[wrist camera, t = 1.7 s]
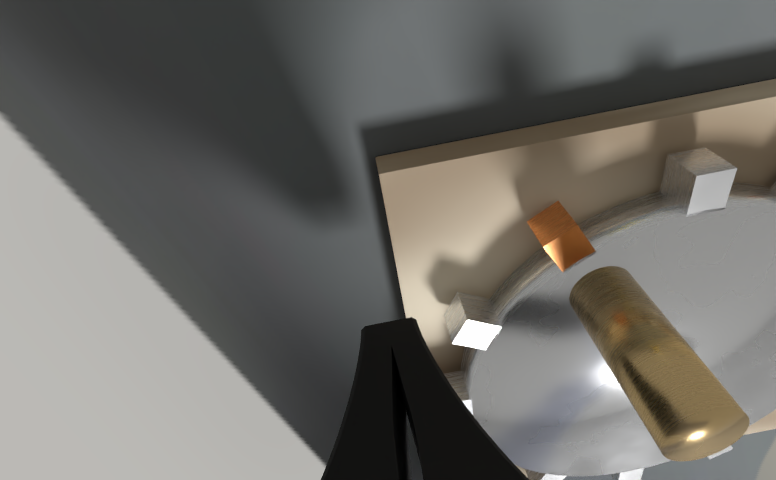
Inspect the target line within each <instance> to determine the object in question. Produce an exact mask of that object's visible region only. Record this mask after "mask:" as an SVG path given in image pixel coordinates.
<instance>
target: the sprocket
mask: <svg viewBox="0 0 776 480" xmlns="http://www.w3.org/2000/svg"><path fill="white" fill-rule="evenodd" d="M736 171H737V168H736V167H735V166H733V165H732V164H730V163H729V162H727V161H726V160H724V159H723V158H721V157H719V156H718V155H716V154H715V153H713V152H712V151H710V150H709V149H707V148H705V147H703V148H698V149H693V150H688V151H683V152H678V153H673V154H668V155H667V159H666V164H665V169H664V173H663V178H662V183H661V188H660V192H656V193H652V194H648V195H645V196H642V197H639V198H636V199H634V200H631V201H628V202H625V203H622V204H620V205H617V206H615V207H612V208H610V209H608V210H606V211H604V212H602V213H600V214H597V215H595V216H593V217H591V218H589V219H587V220H585V221H583V222H582V223H580V224H578V225H577V224H576V222H575V221H574V220H573V218H572V217H571V216H570V215H569V213H568V212H567V211H566V210H565V208H564V207H563V206H562V205H561V203H560V202H559V201H557V202H555V203H554V204H552V205H551V206H549V207H548V208H546V209H545V210H543V211H542V212H540V213H539V214H537V215H536V216H534V217H533V218H531V219H530V220H528V221H527V223H528V225H529V226H530V228H531V229H532V231H533V232H534V234H535V236H536V237H537V239H538V240H539V242H540V243H541V245H542V247H543V248H541V249H540V250H538V251H537V252H536V253H534V254H533V255H532V256H531V257H530V258H529V259H527V260H526V261H525V262H524V263H523V264H522V265H521V266H519V267H518V268H517V269H516V270H515V271H514V272H513V273H512V274H511V275H510V276H509V277H508V278H507V279H506V280H505V281H504V282H503V284H502V285H501V286H500V287H499V288H498V289H497V290H496V291H495V292H494V294H493V295H492V297H491V298H490V299H488V298H484V297H479V296H475V295H470V294H466V293H461V292H457V293H456V295H455V297H454V298H453V300H452V302H451V303H450V305H449V307H448V308H447V310H446V312H445V313H444V318H445V321H446V324H447V328H448V331H449V335H450V338H451V341H452V344H456V345H462V346H464V351H463V356H462V362H461V371H457V372H451V373H446V374H444V375H445V377H446V378H447V380H448V381H449V383H450V384H451V386H452V387H453V389H454V390H455V392H456V393H457V395H458V396H459V397H460V399H461V400H462V402H463V403H464V404H465V406H466V407H467V408H468V410H469V411H470V412H471V414H472V415H473V416H474V418H475V419H476V420H477V421H478V423H479V424H480V425H481V426H482V428H483V429H484V430H485V431H486V432H487V434H488V435H489V436H490V437H491V438H492V440H493V441H494V442H495V443H496V444H497V445H498V447H499V448H500V449H501V450H502V451H503V452H504V453H505V454H506V456H507V457H508V458H509V459H510V460H511V461H512V462H513V463H514V464H515V465H516V466H519V467H521V468H524V469H525V471H526V473H527V476H528V479H529V480H563V479H564V478H565V477H566V476H596V475H606V474H611V476H612V478H613V479H614V480H640V479H641V476H642V473H643V469H644V468H646V467H650V466H654V465H658V464H661V463H664V462H668V461H671V460H674V461H691V460H696V459H701V458H704V457H707V456H708V458H709V459H711V458H714V457H716V456H718V455H720V454H723V453H725V452H727V451H729V450H732V449H733V448H732V446H731V445H732V444H733V443H735V442H736V441H737V440H738V439H740V438H741V437H742V436H743V435H744V433H745V432H746V431H747V429H748V427H749V426H750V425H752V424H754V423H755V422H757V421H759V420H760V419H762V418H763V417H765V416H766V415H768V414H769V413H771V412H773V411H774V410H775V409H776V182H775V183H774V184H773V185H772V186H771V187H770V188H769V187H766V186H762V185H755V184H747V183H738V182H733V180H734V177H735V174H736Z"/></svg>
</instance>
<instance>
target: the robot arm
mask: <svg viewBox="0 0 776 480" xmlns="http://www.w3.org/2000/svg"><path fill="white" fill-rule="evenodd" d="M406 411H407V414H406ZM407 415H408V419H409V422H410V426H411V430H412V433H413V437H414V441H415V445H416V448H417V452H418V456H419V459H420V463H421V467H422V473H423V479H424V480H529V479H528V478H527V477H526V476H525V475H524V474H523V473H522V472H521V471H520V469H519V468H518V467H517V466H516V465H515V464H514V463H513V462H512V461H511V460H510V459H509V458H508V457H507V456H506V454H505V453H504V452H503V451H502V450H501V449H500V448H499V447H498V445H497V444H496V443H495V442H494V441H493V440H492V438H491V437H490V436H489V435H488V434H487V432H486V431H485V430H484V429H483V428H482V426H481V425H480V424H479V423H478V421H477V420H476V419H475V418H474V416H473V415H472V414H471V412H470V411H469V410H468V408H467V407H466V406H465V404H464V403H463V402H462V400H461V399H460V397H459V396H458V395H457V393H456V392H455V390H454V389H453V387H452V386H451V384H450V383H449V381H448V380H447V378H446V377H445V375H444V373H443V372H442V370H441V369H440V367H439V366H438V364H437V362H436V361H435V359H434V357H433V355H432V353H431V352H430V350H429V348H428V346H427V344H426V342H425V340H424V338H423V336H422V334H421V331H420V329H419V326H418V323H417V320H416V319H414V318H412V317H410V318H405V319H400V320H395V321H390V322H384V323H379V324H374V325H369V326H365V327H364V328H363V329H362V330H361V344H360V352H359V358H358V363H357V368H356V373H355V377H354V381H353V385H352V389H351V393H350V397H349V401H348V405H347V408H346V411H345V414H344V418H343V421H342V424H341V427H340V430H339V434H338V436H337V439H336V442H335V445H334V448H333V450H332V453H331V456H330V458H329V461H328V463H327V466H326V468H325V471H324V473H323V476H322V478H321V480H412V476H411V463H410V451H409V438H408V426H407Z"/></svg>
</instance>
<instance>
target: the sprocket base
mask: <svg viewBox="0 0 776 480" xmlns="http://www.w3.org/2000/svg"><path fill="white" fill-rule="evenodd" d="M703 147H705V148H707V149H709V150H710V151H712V152H713V153H715V154H716V155H718V156H719V157H721V158H723V159H724V160H726V161H727V162H729V163H730V164H732V165H733V166H735V167H736V168H737V171H736V174H735V177H734V180H733V182H738V183H747V184H755V185H762V186H766V187H769V188H770V187H771V186H772V185H773V184H774V183H775V182H776V79H772V80H767V81H762V82H756V83H751V84H746V85H741V86H736V87H731V88H726V89H721V90H715V91H710V92H705V93H700V94H695V95H690V96H685V97H680V98H675V99H669V100H664V101H659V102H654V103H649V104H644V105H639V106H634V107H629V108H623V109H618V110H613V111H608V112H603V113H598V114H593V115H588V116H583V117H577V118H572V119H567V120H562V121H557V122H552V123H547V124H542V125H537V126H531V127H526V128H521V129H516V130H511V131H506V132H501V133H496V134H491V135H485V136H480V137H475V138H470V139H465V140H460V141H455V142H450V143H445V144H439V145H434V146H429V147H424V148H419V149H414V150H409V151H404V152H399V153H393V154H388V155H383V156H378V157H375V158H376V163H377V169H378V174H379V179H380V184H381V190H382V195H383V200H384V206H385V211H386V216H387V221H388V227H389V232H390V237H391V242H392V248H393V253H394V258H395V263H396V269H397V274H398V279H399V284H400V290H401V295H402V300H403V305H404V311H405V316H406V318H410V317H412V318H414V319H416V320H417V323H418V326H419V329H420V331H421V334H422V336H423V338H424V340H425V342H426V344H427V346H428V348H429V350H430V352H431V353H432V355H433V357H434V359H435V361H436V362H437V364H438V366H439V367H440V369H441V370H442V372H443V373H444V374H446V373H451V372H457V371H461V362H462V356H463V351H464V346H462V345H456V344H452V341H451V338H450V335H449V331H448V328H447V324H446V321H445V318H444V313H445V312H446V310H447V308H448V307H449V305H450V303H451V302H452V300H453V298H454V297H455V295H456V293H457V292H461V293H466V294H470V295H475V296H479V297H484V298H488V299H490V298H491V297H492V295H493V294H494V292H495V291H496V290H497V289H498V288H499V287H500V286H501V285H502V284H503V282H504V281H505V280H506V279H507V278H508V277H509V276H510V275H511V274H512V273H513V272H514V271H515V270H516V269H517V268H518V267H519V266H521V265H522V264H523V263H524V262H525V261H526V260H527V259H529V258H530V257H531V256H532V255H533V254H534V253H536V252H537V251H538V250H540V249H541V248H543V247H542V245H541V243H540V242H539V240H538V239H537V237H536V236H535V234H534V232H533V231H532V229H531V228H530V226H529V225H528V223H527V221H528V220H530V219H531V218H533V217H534V216H536V215H537V214H539V213H540V212H542V211H543V210H545V209H546V208H548V207H549V206H551V205H552V204H554V203H555V202H557V201H559V202H560V203H561V205H562V206H563V207H564V208H565V210H566V211H567V212H568V213H569V215H570V216H571V217H572V218H573V220H574V221H575V222H576V224H577V225H578V224H580V223H582V222H583V221H585V220H587V219H589V218H591V217H593V216H595V215H597V214H600V213H602V212H604V211H606V210H608V209H610V208H612V207H615V206H617V205H620V204H622V203H625V202H628V201H631V200H634V199H636V198H639V197H642V196H645V195H648V194H652V193H656V192H660V188H661V183H662V178H663V173H664V169H665V164H666V159H667V155H668V154H673V153H678V152H683V151H688V150H693V149H698V148H703ZM771 429H776V409H775V410H774V411H773V412H771V413H769V414H768V415H766V416H765V417H763V418H762V419H760V420H759V421H757V422H755V423H754V424H752V425H750V426H749V427H748V429H747V431H746V432H745V433H744V435H746V434H751V433H756V432H761V431H766V430H771ZM517 467H518V468H519V469H520V471H521V472H522V473H523V474H524V475H525V476H526V477H528V476H527V473H526V471H525V469H524V468H521V467H519V466H517Z"/></svg>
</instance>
